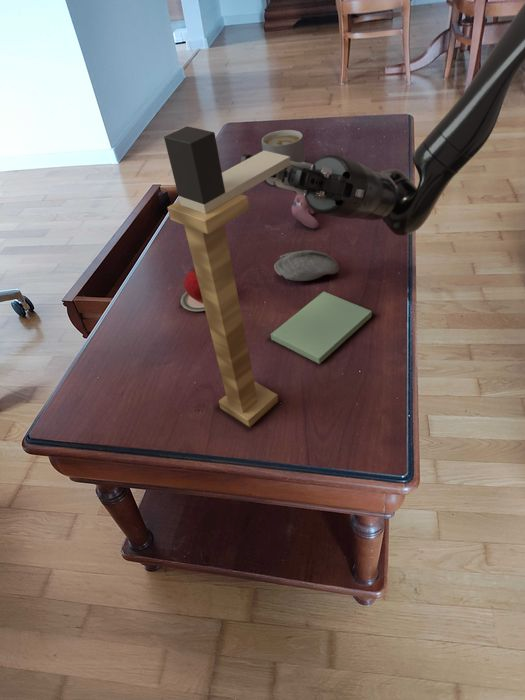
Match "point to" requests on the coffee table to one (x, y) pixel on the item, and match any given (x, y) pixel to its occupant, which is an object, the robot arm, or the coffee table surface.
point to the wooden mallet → (214, 170)
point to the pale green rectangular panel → (321, 326)
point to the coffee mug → (285, 146)
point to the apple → (192, 293)
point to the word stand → (224, 306)
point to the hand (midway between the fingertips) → (268, 170)
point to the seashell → (305, 265)
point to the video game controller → (304, 212)
